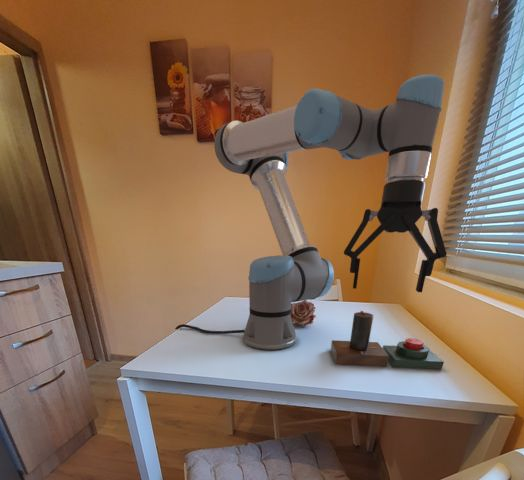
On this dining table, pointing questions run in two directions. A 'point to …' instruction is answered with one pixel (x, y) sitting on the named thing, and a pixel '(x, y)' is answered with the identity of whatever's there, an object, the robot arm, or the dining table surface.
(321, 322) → the dining table surface
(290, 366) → the dining table surface
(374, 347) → the brown wooden block
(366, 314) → the dark brown cylinder
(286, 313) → the robot arm
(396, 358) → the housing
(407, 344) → the button
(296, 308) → the flower
